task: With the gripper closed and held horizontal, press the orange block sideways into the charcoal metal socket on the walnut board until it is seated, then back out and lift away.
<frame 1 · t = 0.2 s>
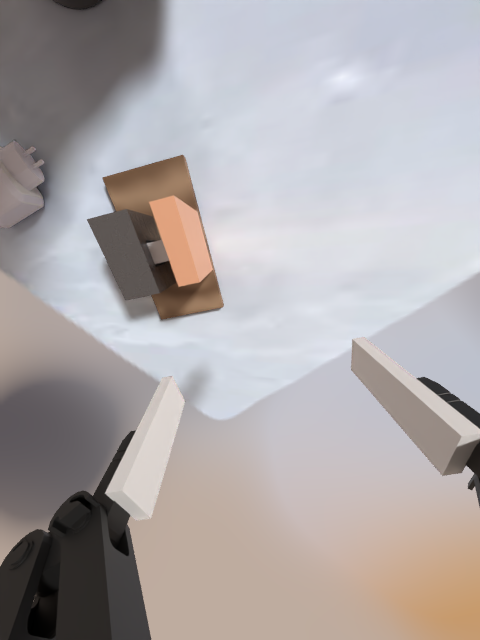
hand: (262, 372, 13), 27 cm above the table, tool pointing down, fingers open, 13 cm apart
charger: (22, 183, 32), on the table
base board: (173, 250, 36), on the table
orange block: (170, 248, 28), point 8 cm above the table, slide at 0.0 cm
socket: (173, 250, 36), resting on base board
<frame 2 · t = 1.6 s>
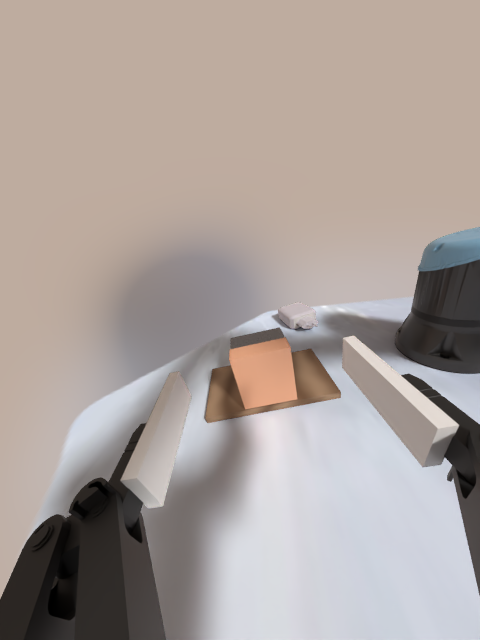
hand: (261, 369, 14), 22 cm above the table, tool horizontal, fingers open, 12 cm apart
charger: (301, 324, 61), on the table
base board: (266, 383, 41), on the table
orange block: (262, 364, 36), point 8 cm above the table, slide at 0.0 cm
socket: (266, 383, 41), resting on base board
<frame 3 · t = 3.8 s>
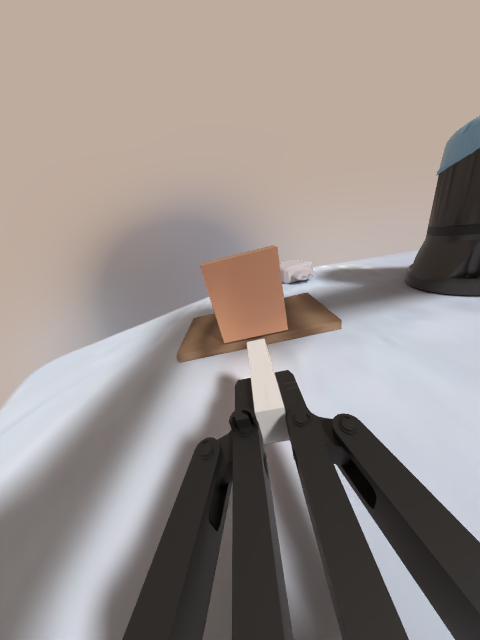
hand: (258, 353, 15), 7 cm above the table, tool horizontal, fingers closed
charger: (297, 280, 55), on the table
base board: (253, 325, 35), on the table
orange block: (245, 291, 29), point 8 cm above the table, slide at 0.0 cm
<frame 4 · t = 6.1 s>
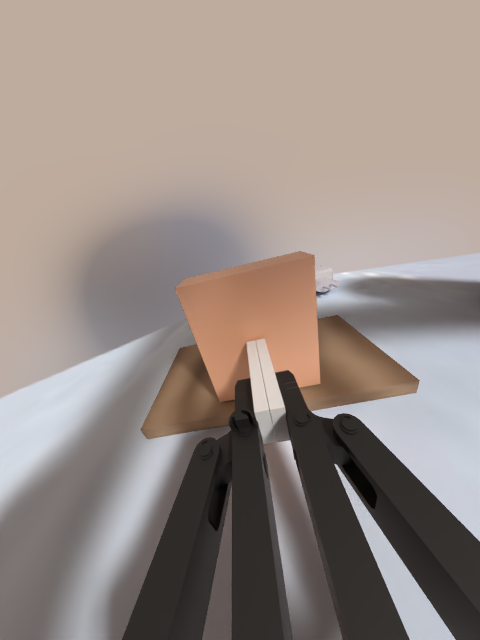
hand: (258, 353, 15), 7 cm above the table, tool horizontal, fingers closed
charger: (313, 291, 45), on the table
base board: (263, 368, 24), on the table
orange block: (253, 319, 19), point 8 cm above the table, slide at 1.3 cm, touching gripper
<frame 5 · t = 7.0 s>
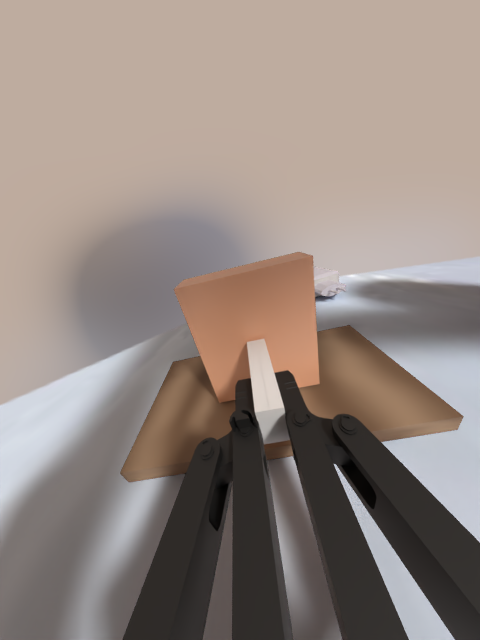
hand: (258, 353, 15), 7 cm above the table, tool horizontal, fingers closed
charger: (317, 294, 42), on the table
base board: (267, 388, 21), on the table
orange block: (252, 320, 19), point 8 cm above the table, slide at 4.8 cm, touching gripper
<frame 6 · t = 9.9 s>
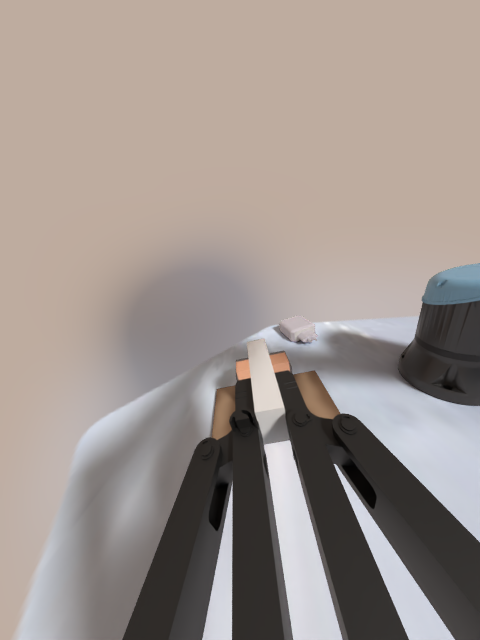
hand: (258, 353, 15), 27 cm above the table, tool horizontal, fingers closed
charger: (301, 337, 64), on the table
base board: (270, 406, 42), on the table
orange block: (263, 374, 41), point 8 cm above the table, slide at 4.7 cm
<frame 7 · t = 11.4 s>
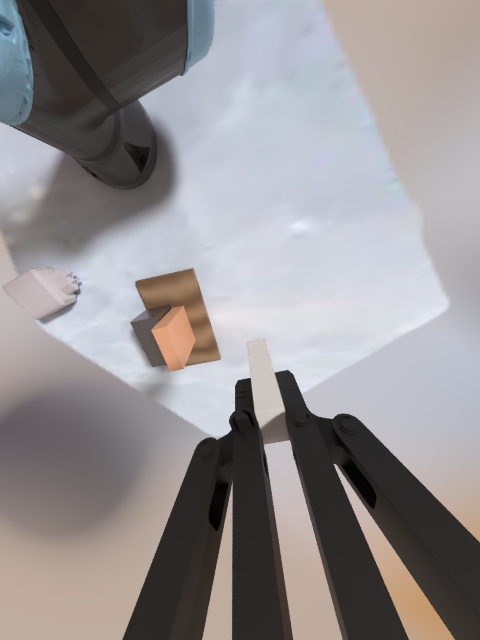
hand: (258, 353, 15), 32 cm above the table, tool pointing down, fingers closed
charger: (61, 285, 45), on the table
base board: (183, 322, 49), on the table
orange block: (165, 338, 42), point 8 cm above the table, slide at 4.7 cm
socket: (183, 322, 49), resting on base board
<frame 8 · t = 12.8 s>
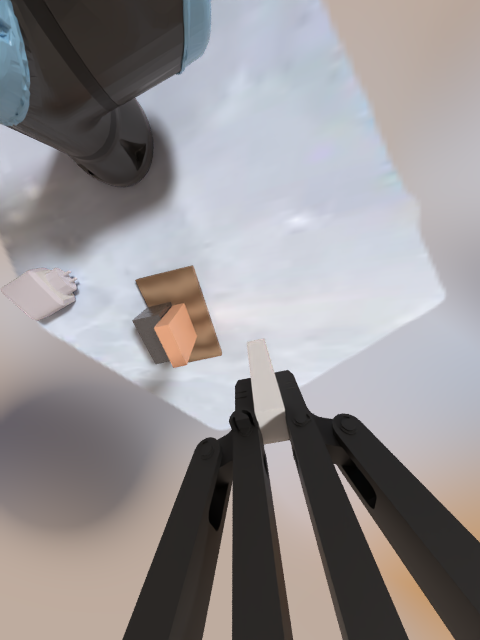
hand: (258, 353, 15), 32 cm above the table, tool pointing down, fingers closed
charger: (59, 286, 45), on the table
base board: (184, 319, 49), on the table
orange block: (167, 335, 42), point 8 cm above the table, slide at 4.7 cm
socket: (184, 319, 49), resting on base board
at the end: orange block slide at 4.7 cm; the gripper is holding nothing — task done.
